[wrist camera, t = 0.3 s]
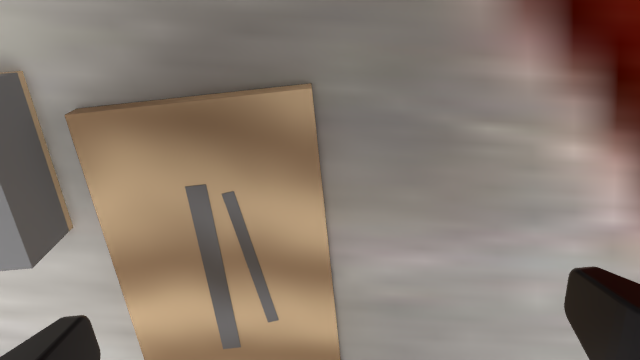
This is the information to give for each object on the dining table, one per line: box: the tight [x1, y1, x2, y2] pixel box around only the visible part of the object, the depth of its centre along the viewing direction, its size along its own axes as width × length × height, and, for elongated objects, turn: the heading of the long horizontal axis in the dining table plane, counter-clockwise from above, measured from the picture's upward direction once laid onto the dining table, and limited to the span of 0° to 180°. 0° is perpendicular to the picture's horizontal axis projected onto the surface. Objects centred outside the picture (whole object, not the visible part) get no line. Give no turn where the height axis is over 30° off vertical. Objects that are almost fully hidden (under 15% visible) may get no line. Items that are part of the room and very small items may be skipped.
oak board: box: [65, 83, 340, 360], centre depth 24 cm, size 18×11×1 cm, turn 6°
